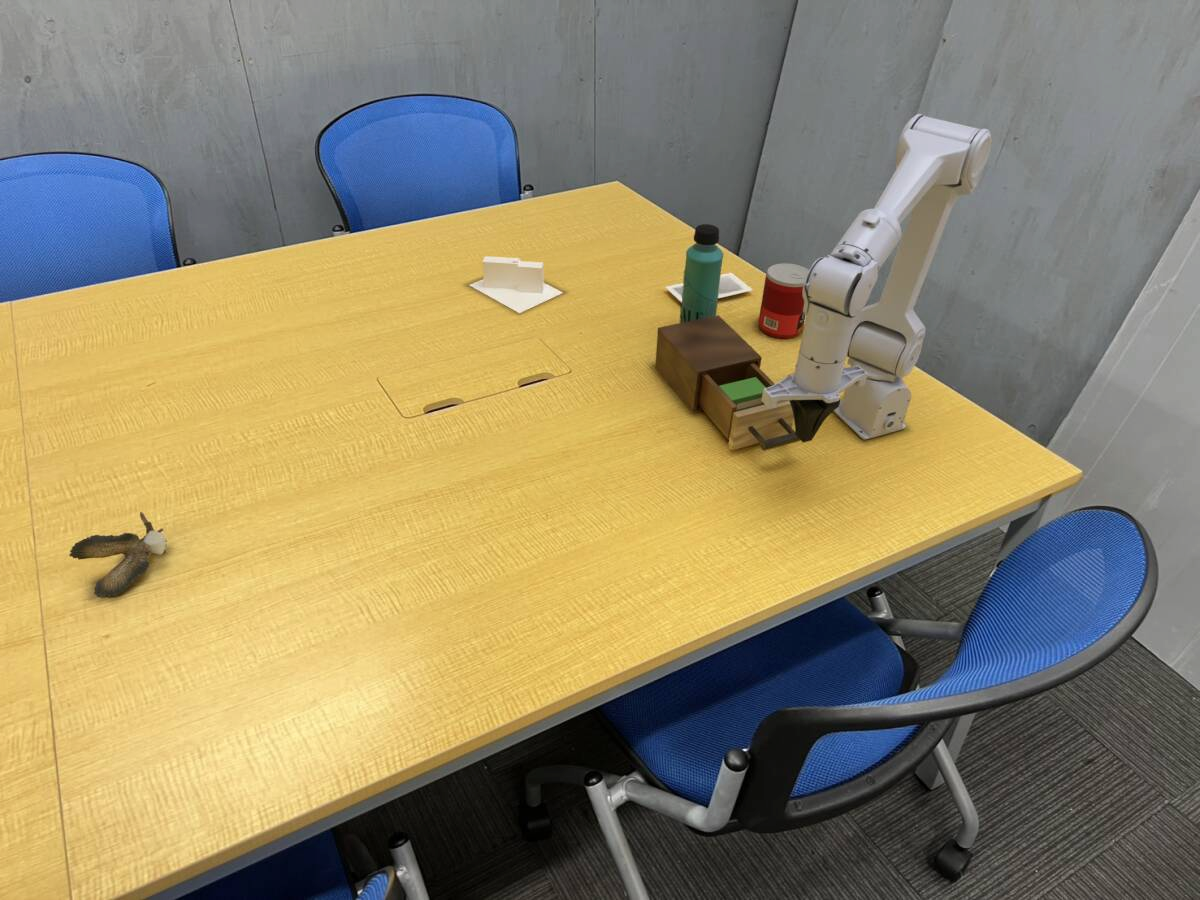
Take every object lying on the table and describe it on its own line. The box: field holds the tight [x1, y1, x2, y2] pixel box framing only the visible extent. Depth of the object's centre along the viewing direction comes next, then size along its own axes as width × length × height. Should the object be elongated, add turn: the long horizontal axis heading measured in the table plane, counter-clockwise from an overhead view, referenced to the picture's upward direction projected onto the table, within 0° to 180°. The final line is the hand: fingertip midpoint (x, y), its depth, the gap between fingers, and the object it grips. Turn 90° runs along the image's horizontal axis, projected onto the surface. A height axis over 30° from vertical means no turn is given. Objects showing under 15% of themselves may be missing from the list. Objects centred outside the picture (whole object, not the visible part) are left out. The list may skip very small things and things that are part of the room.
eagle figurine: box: [68, 511, 168, 598], centre depth 97 cm, size 8×7×9 cm
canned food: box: [758, 263, 810, 339], centre depth 142 cm, size 8×8×11 cm
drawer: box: [697, 362, 802, 452], centre depth 120 cm, size 18×10×6 cm, turn 22°
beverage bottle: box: [678, 223, 724, 323], centre depth 137 cm, size 6×7×20 cm
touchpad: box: [664, 272, 754, 303], centre depth 154 cm, size 8×15×2 cm, turn 115°
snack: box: [719, 377, 766, 412], centre depth 121 cm, size 4×6×4 cm, turn 113°
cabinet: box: [654, 314, 763, 413], centre depth 130 cm, size 14×11×8 cm
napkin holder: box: [468, 255, 564, 314], centre depth 153 cm, size 15×11×6 cm
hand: (803, 437), depth 108 cm, fingers closed
